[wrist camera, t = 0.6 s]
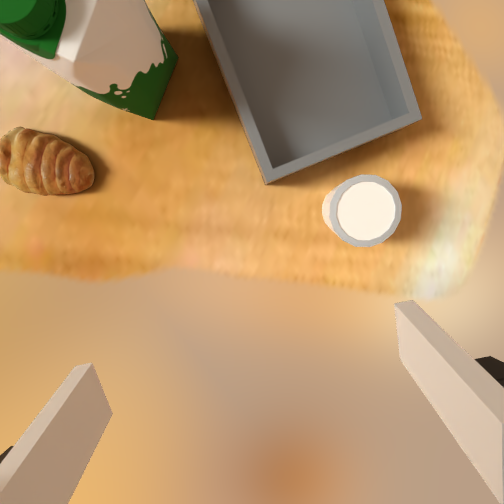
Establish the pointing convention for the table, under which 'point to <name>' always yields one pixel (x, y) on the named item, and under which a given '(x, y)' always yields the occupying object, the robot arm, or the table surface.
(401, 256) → the table surface
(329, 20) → the bin
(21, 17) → the soya milk
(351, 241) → the white round container
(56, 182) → the pastry
